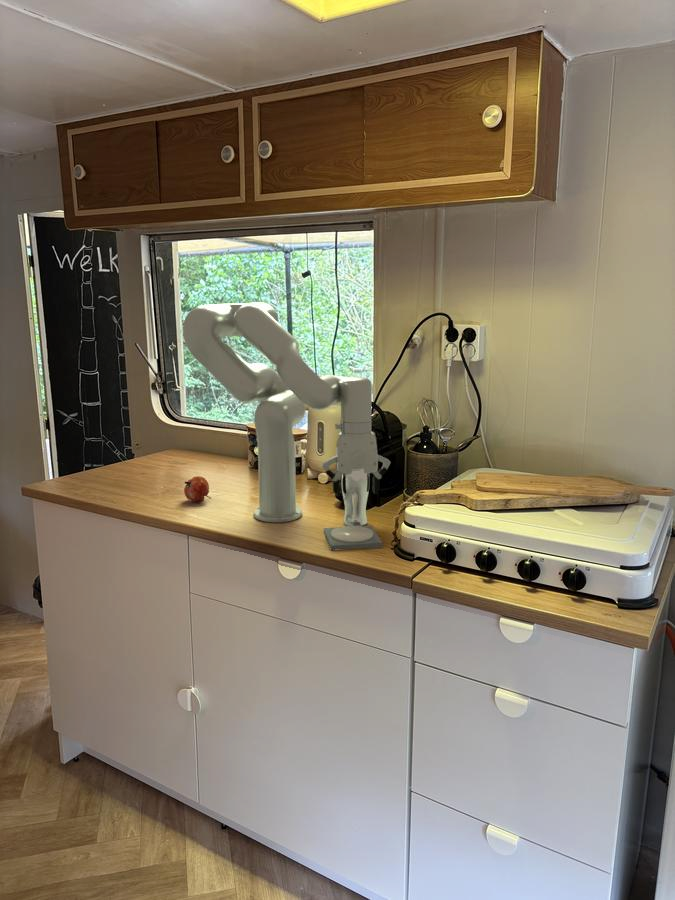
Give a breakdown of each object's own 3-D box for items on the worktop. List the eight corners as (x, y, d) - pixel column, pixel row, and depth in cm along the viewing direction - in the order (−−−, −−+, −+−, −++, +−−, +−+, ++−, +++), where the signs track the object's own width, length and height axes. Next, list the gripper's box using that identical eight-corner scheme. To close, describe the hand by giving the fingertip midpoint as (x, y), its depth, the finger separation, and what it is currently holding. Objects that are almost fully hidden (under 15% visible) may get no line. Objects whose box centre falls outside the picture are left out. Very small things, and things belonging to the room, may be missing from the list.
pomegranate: (200, 503, 201) (172, 487, 196) (215, 483, 201) (187, 466, 196) (208, 513, 195) (179, 497, 190) (223, 492, 195) (195, 475, 190)
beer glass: (367, 518, 182) (368, 462, 179) (369, 527, 175) (370, 469, 172) (341, 518, 182) (341, 462, 178) (342, 527, 175) (342, 469, 172)
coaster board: (323, 532, 171) (323, 525, 171) (371, 530, 173) (371, 523, 173) (330, 550, 160) (330, 543, 159) (382, 547, 162) (382, 540, 161)
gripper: (323, 432, 168) (324, 500, 172) (394, 429, 171) (393, 496, 174) (319, 426, 175) (320, 491, 179) (386, 423, 178) (386, 488, 182)
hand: (356, 494), depth 177 cm, fingers open, 9 cm apart
